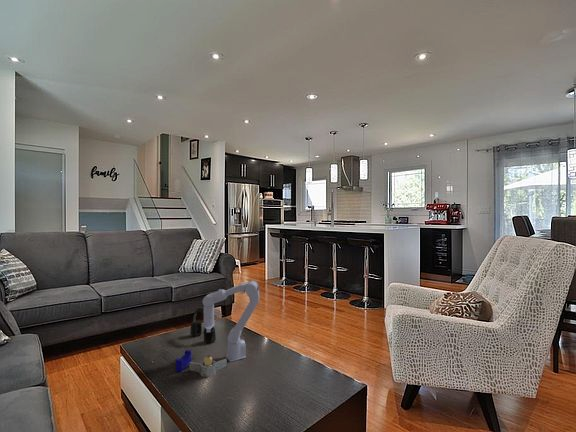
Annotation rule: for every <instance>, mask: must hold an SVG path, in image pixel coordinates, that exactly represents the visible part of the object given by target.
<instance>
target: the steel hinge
mask: <svg viewBox="0 0 576 432" xmlns="http://www.w3.org/2000/svg"><path fill="white" fill-rule="evenodd" d="M227 366H228V359H227V358H224V359H220V360H218V361H216V360H215V359H212V365H209V366H204V360H203V361H201V362H192V361H191V362H190V363H189V371H191V372H196V373H199V375H200V377H202V378H210V377H213V376H215V375H216V373H217V371H218V370H221V369H224V368H227Z"/></svg>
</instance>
